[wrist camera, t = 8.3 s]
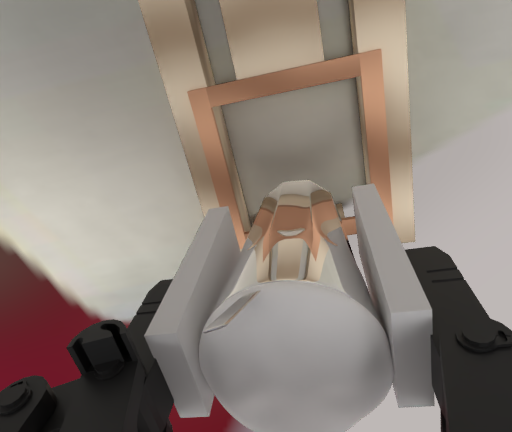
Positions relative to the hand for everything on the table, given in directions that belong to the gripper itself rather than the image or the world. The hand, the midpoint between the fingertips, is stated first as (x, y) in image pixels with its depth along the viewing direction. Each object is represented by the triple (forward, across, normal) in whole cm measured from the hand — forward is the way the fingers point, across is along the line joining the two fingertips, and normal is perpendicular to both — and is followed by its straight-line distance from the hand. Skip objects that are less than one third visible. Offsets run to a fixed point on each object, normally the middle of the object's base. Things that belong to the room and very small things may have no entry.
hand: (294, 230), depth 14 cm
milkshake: (+2, 0, 0) cm, 2 cm away
